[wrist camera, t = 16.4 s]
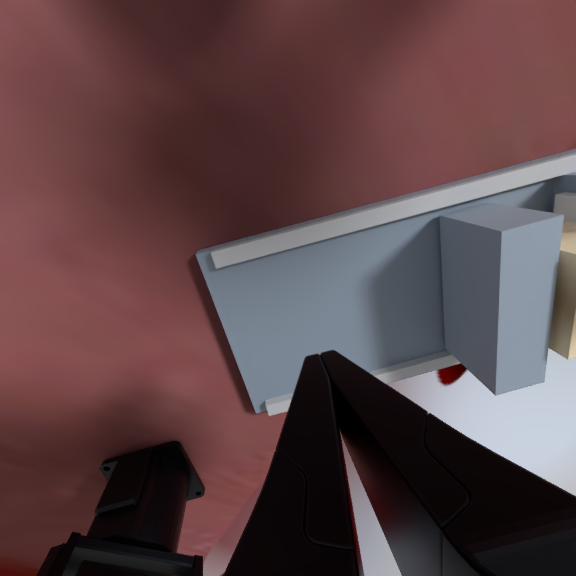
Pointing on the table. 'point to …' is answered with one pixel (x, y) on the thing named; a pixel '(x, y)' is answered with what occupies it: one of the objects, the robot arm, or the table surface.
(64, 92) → the table surface
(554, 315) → the block
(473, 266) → the block
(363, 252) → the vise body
